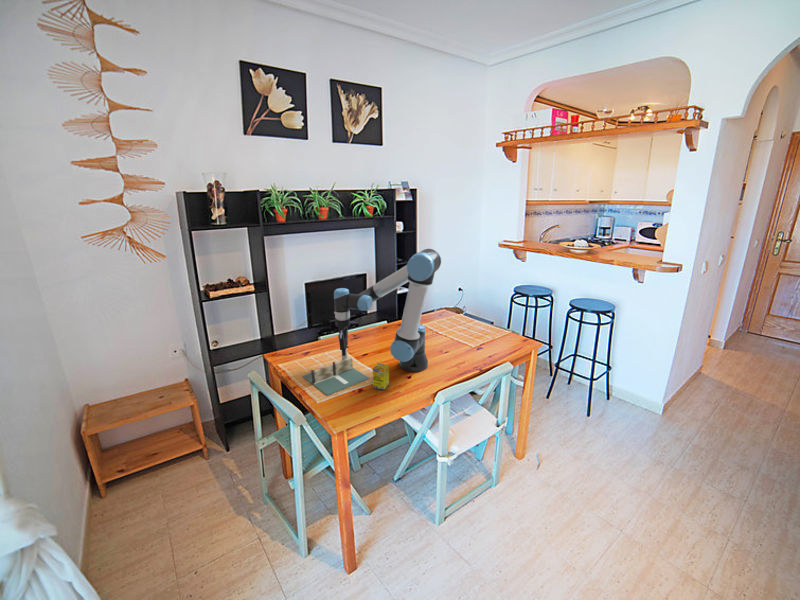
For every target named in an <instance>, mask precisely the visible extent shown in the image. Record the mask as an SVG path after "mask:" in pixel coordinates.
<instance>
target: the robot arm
mask: <svg viewBox="0 0 800 600" xmlns="http://www.w3.org/2000/svg"><path fill="white" fill-rule="evenodd" d="M441 264H442V257H441V255H440V253H439V252H438V251H436V250H435V249H433V248H426V249H425V248H424V249H422V250H421V251H419V252H417V253H414V254H413V255H412V256H411V257H410V258H409V259H408V261H407V264H406V265H404V266H402V267H401V268H400V269H398V270H396V271H395V272H393V273H391V274H390V275H388V276H386V277H385V278H383V279H382V280H381V279H380V280H379V281H378V282H377V283H375V284H374V285H371V286H370V287H368V288H366V289H365V290H363V291H362V292H360V293H358V294H357V293H350V290H349V289H348V288H345V287H340V288H336V289H335V290H334V291H333V300H334V301H333V302H334V311H333V314H334V317H335V321H334V322H335V327H336V328H339V329H338V335H337V337H338V341H339V350H340V351H341V360H344V359H347V358H348V349H349V345H348V343H349V342H348V341H349V340H348V339H349V327H350V326H351V312H350V311H351V310H357V311H362V312H363V311H364V312H365V311H367V312H368V311H370V310H371V309H372V307H373V303H374V302H376V301H377V300H380V299H382V298H383V297H385V296H386V295H388V294H390V293H391V292H393V291H395V290H397V289H399V288H401V287H402V286H403V285H405V284H407V283H409V284H408V290H407V295H406V299H405V304H404V308H403V314H402V317H401V323H400V327H399V328H397V329H396V331H395V335H394V339H393V342H392V343H391V344H390V347H389V350H390V354H391V356H392V357H393V358H394V359H395V360H397V361H398V362H399V368H401V369H402V370H403V371H406V372H413V373H414V372H421V371H424V370H427V368H428V365H429V359H428V358H427V354H426V332H427V331H426V327H425V325H423V324H422V323H421V319H422V314H423V310H424V306H425V301H426V297H427V292H428V290H429V289H428V288H429V287H430V286H431V285H433V282H434V278H435V272H437V271H438V270H439V269H440V267H441ZM350 309H351V310H350ZM420 323H421V324H420Z"/></svg>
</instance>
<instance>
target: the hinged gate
mask: <svg viewBox="0 0 800 600" xmlns="http://www.w3.org/2000/svg"><path fill="white" fill-rule="evenodd" d="M332 365H333V375H337V374H340V373H342V372H345V371H348V370H350V369H353V368H354V367H353V365H354V364H353V358H352V357H347V359H344V360H342V359H341V360H338V361H333V362H332Z"/></svg>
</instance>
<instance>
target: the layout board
mask: <svg viewBox="0 0 800 600" xmlns="http://www.w3.org/2000/svg"><path fill="white" fill-rule="evenodd" d="M331 365H332V366H333V364H331ZM302 377H303V378H304V379H305V380H306V381H308V382H309V383H310V384H312V374H311V372H310V373H307V374H303V375H302ZM367 380H370V377H369V376H367V375H365V374H364V373H362V372H361V371H359V370H358V369H356V368H354V367H353V369H350V370H348V371H345V372H342V373H340V374H337V375H333V377H330V378H328V379H325V380H322V381H320V382H317V383H314V384H312V385H313V386H314V387H315V388H317V389H318V390H319V391H321V393H323V394H324V395H325V396H330V395H331V396H332V395H333V394H335V392H336V393H337V392H340V390H341V391H342V390H345V388H346V389H348V388H350V387H352V385H353V386H355V385H358V384H360V383H363V382H365V381H367ZM362 381H363V382H362ZM357 383H358V384H357ZM347 387H348V388H347Z"/></svg>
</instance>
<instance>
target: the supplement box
mask: <svg viewBox="0 0 800 600" xmlns="http://www.w3.org/2000/svg"><path fill="white" fill-rule="evenodd" d="M389 386H390V365H389V364H385V363H384V364H383V363H380V362H377V363H376V364H375V365H374V366H373V367H372V387H373V388H372V389H375V390H380V391H383V392H384V391H386V390H387V388H388V387H389Z"/></svg>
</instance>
